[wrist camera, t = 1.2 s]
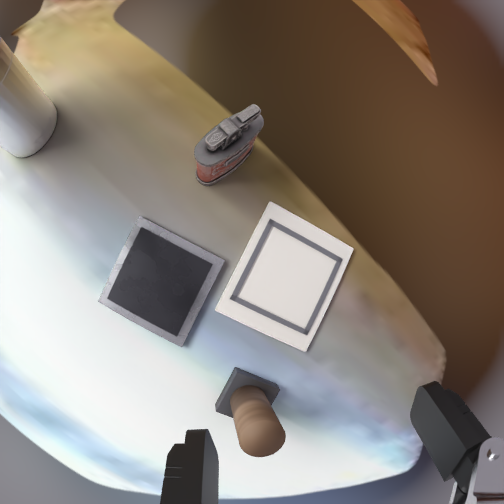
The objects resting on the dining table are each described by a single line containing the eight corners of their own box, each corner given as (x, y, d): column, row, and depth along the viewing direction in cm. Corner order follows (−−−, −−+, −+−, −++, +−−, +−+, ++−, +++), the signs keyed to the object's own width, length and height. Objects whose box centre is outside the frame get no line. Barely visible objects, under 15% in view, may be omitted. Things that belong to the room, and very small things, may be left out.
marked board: (214, 309, 34) (214, 310, 33) (268, 202, 36) (270, 200, 35) (304, 350, 35) (306, 352, 35) (351, 248, 37) (354, 248, 36)
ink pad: (100, 300, 32) (96, 301, 31) (140, 216, 33) (138, 214, 32) (182, 345, 33) (181, 348, 32) (224, 260, 35) (225, 260, 33)
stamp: (215, 404, 33) (220, 452, 23) (235, 366, 34) (248, 405, 23) (255, 419, 34) (275, 468, 23) (276, 383, 35) (303, 423, 24)
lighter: (208, 192, 35) (209, 163, 25) (189, 171, 35) (185, 136, 25) (258, 151, 36) (277, 113, 26) (240, 132, 36) (253, 90, 26)
